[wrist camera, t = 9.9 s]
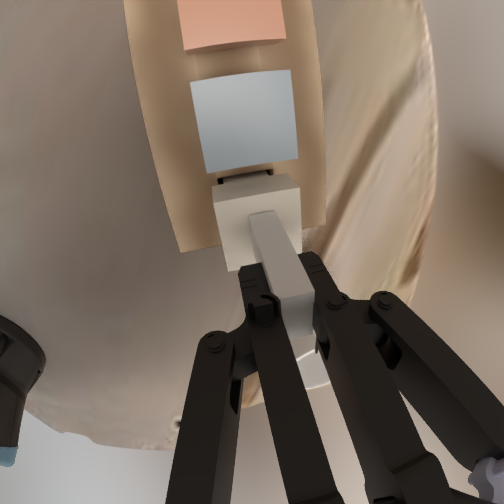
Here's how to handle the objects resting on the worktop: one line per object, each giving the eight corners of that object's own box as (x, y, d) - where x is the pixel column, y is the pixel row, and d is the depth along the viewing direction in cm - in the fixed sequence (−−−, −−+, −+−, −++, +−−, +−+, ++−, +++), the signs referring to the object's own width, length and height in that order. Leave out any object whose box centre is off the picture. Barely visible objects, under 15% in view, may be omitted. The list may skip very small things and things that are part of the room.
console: (183, 222, 26) (180, 253, 22) (139, 15, 14) (123, -1, 10) (305, 199, 26) (325, 224, 22) (286, -5, 15) (306, -23, 11)
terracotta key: (190, 62, 15) (184, 50, 10) (182, 5, 13) (173, -29, 7) (258, 52, 16) (286, 38, 10) (250, -3, 13) (273, -38, 7)
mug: (247, 237, 28) (275, 330, 18) (327, 223, 29) (384, 302, 19) (258, 314, 35) (279, 398, 25) (321, 300, 35) (357, 376, 26)
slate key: (205, 144, 19) (206, 173, 14) (194, 83, 16) (189, 82, 11) (268, 133, 20) (298, 158, 14) (261, 73, 17) (290, 69, 11)
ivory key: (220, 219, 23) (228, 272, 17) (209, 165, 20) (213, 203, 15) (276, 208, 23) (302, 256, 18) (271, 154, 21) (299, 187, 15)
